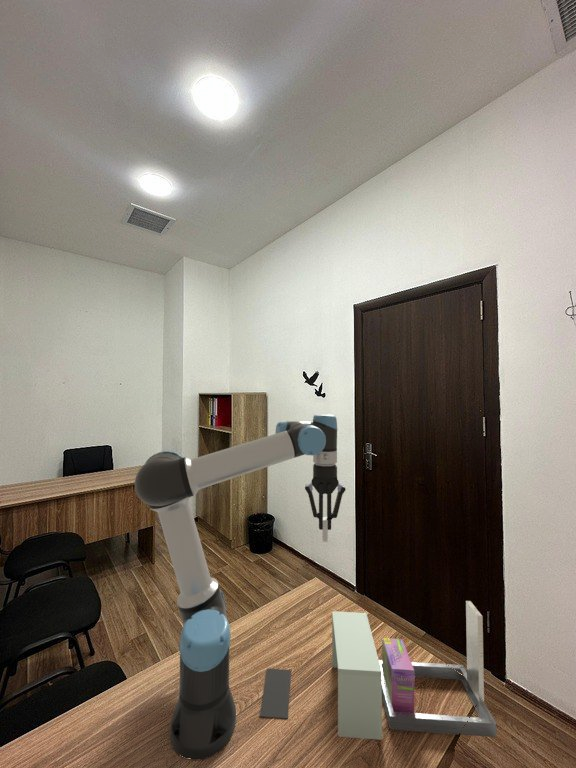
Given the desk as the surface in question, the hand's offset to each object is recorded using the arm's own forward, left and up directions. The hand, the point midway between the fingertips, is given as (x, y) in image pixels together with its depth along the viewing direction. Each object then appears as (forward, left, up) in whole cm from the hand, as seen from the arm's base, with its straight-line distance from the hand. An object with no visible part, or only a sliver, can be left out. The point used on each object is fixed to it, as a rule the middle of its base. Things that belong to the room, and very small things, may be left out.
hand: (324, 539), depth 100 cm
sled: (+26, -14, -34) cm, 46 cm away
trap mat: (-14, -14, -34) cm, 40 cm away
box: (+18, -14, -35) cm, 42 cm away
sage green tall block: (+7, -14, -34) cm, 38 cm away
